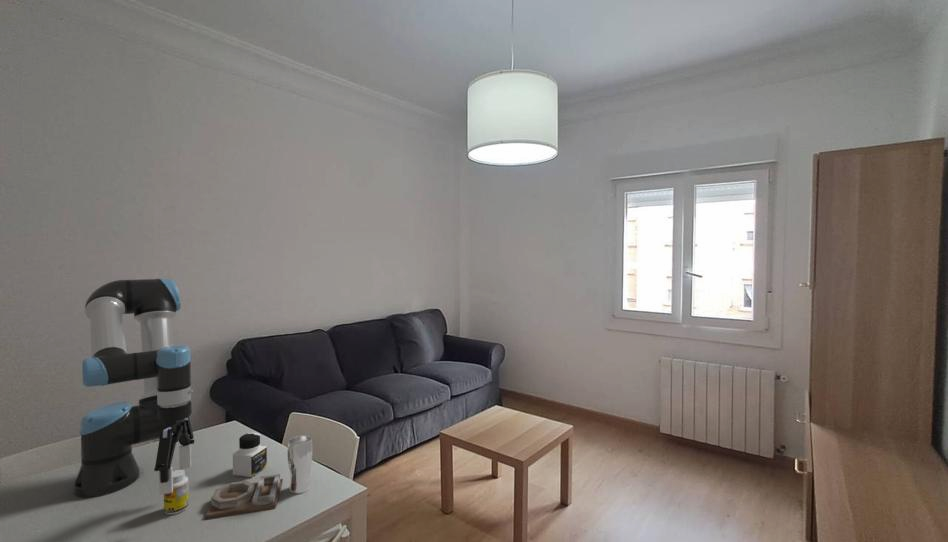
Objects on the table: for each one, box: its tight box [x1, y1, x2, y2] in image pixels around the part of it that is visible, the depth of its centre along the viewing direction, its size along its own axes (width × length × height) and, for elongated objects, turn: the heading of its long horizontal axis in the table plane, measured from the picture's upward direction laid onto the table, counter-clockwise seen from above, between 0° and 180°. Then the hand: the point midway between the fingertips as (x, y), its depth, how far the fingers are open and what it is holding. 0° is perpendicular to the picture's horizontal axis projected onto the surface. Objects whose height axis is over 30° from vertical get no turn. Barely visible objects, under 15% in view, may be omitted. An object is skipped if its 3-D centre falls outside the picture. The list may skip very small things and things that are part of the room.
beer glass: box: [287, 434, 313, 495], centre depth 126 cm, size 7×7×15 cm
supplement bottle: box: [163, 469, 190, 516], centre depth 115 cm, size 6×6×10 cm
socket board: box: [205, 473, 284, 520], centre depth 120 cm, size 14×17×3 cm
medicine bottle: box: [232, 432, 268, 478], centre depth 136 cm, size 7×7×12 cm
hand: (176, 480), depth 115 cm, fingers open, 13 cm apart
